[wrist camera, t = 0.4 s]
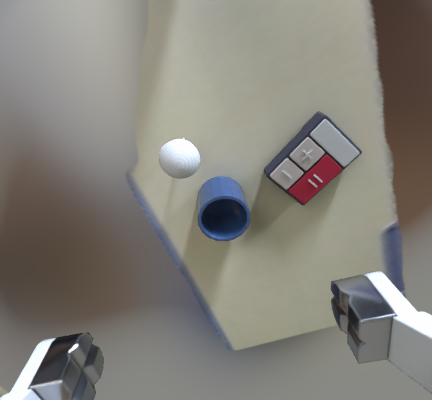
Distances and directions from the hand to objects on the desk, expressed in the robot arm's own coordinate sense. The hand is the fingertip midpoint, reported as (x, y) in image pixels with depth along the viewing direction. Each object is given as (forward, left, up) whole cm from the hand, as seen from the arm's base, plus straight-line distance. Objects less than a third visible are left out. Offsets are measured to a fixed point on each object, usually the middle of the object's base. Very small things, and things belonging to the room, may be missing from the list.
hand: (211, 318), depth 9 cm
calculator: (+15, +18, -46) cm, 52 cm away
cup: (+19, -1, -46) cm, 49 cm away
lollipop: (+5, -5, -46) cm, 46 cm away
